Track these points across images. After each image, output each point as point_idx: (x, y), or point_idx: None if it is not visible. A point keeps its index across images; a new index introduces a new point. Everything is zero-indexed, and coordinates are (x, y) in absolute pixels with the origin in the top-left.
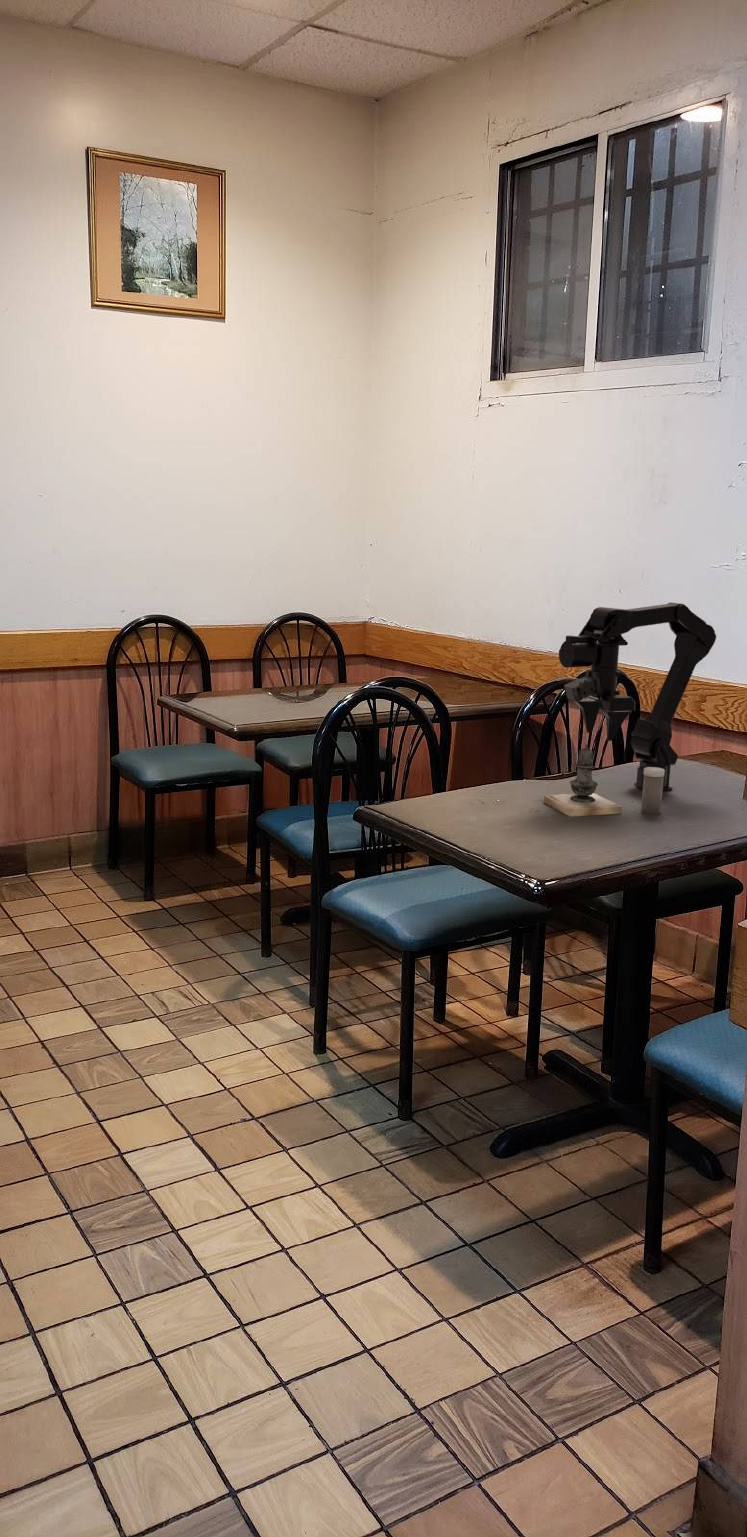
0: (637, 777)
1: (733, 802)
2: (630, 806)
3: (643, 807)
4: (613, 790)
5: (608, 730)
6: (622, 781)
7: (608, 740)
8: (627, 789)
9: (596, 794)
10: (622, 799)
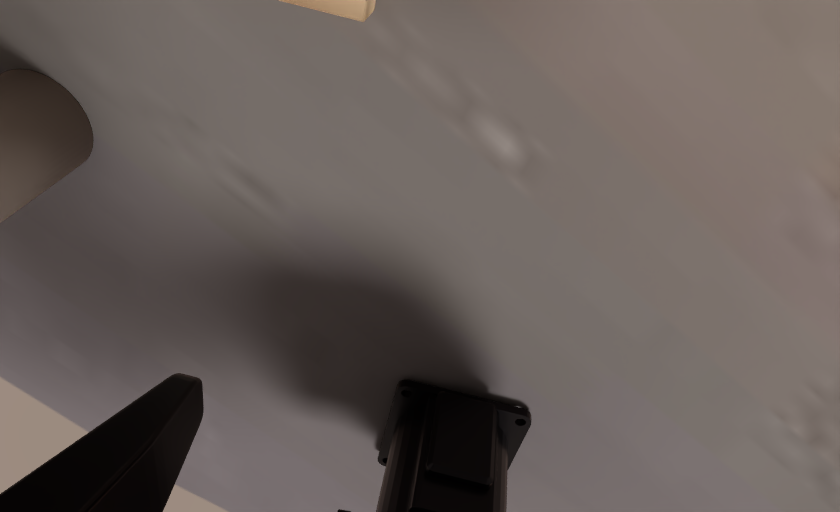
0: (485, 432)
1: None
2: (169, 107)
3: (3, 79)
4: (510, 278)
5: (27, 477)
6: (626, 426)
7: (178, 375)
8: (490, 343)
9: (319, 4)
10: (323, 181)
